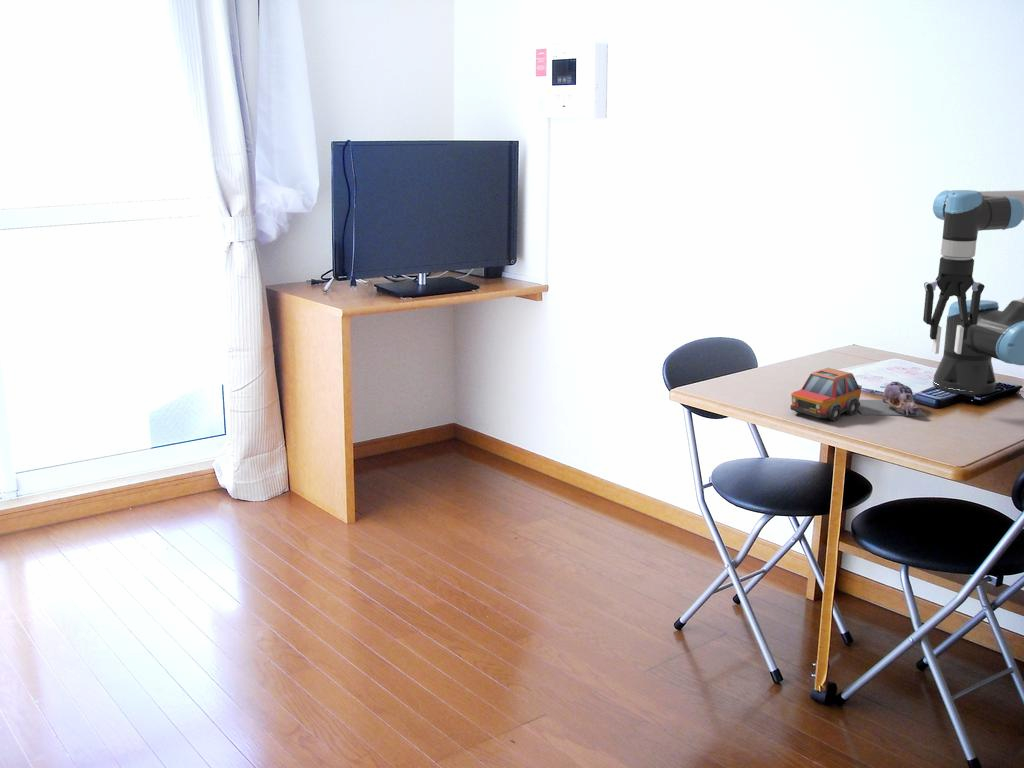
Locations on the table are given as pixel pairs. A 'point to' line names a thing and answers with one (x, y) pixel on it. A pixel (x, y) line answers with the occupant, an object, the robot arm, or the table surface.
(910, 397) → the skull
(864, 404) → the chock mat
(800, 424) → the table surface
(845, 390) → the toy car
